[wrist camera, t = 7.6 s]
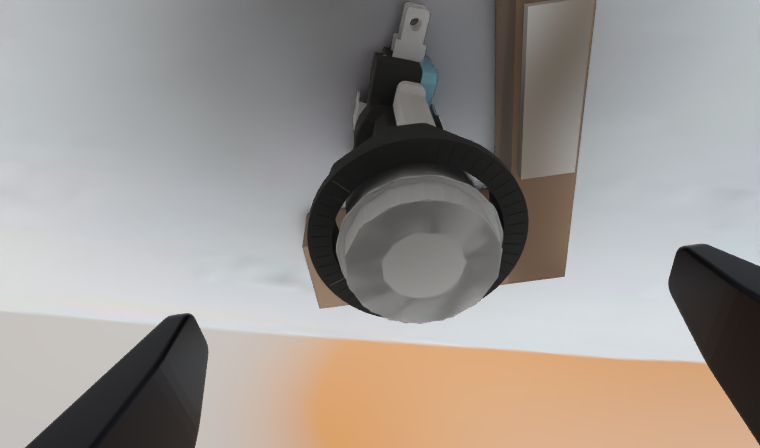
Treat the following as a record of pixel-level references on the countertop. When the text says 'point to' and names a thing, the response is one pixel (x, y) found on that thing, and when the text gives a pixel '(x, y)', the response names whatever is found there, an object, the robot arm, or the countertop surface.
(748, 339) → the robot arm
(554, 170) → the notched board
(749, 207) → the countertop surface
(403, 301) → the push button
